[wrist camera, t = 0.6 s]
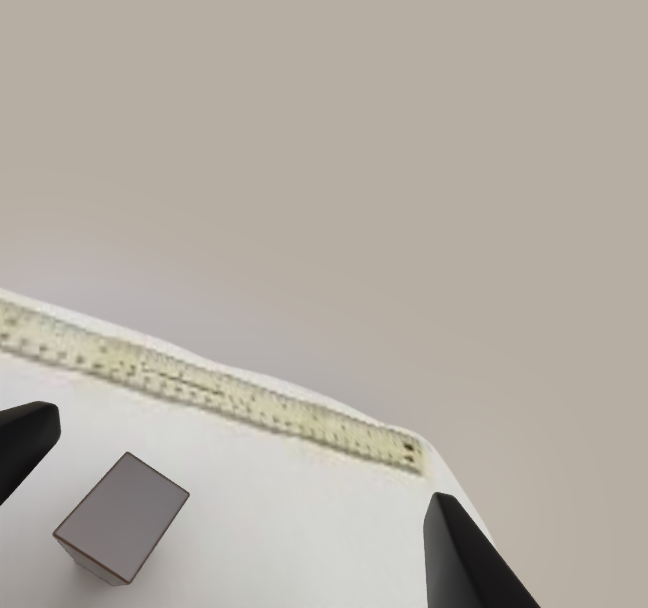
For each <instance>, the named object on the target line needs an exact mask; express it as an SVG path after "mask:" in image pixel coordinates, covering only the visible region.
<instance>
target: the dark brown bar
mask: <svg viewBox="0 0 648 608" xmlns="http://www.w3.org/2000/svg"><path fill="white" fill-rule="evenodd" d="M189 496H190V494H189V492H187V491H186V490H184V489H183V488H181V487H180V486H178V485H177V484H175V483H174V482H172V481H171V480H169V479H168V478H166V477H165V476H163V475H162V474H161V473H159V472H158V471H156V470H155V469H153V468H152V467H150V466H149V465H147V464H146V463H144V462H143V461H141V460H140V459H138V458H137V457H135V456H134V455H132V454H131V453H129V452H126V453H125V454H124V455H123V456H122V457H121V458H120V459H119V460H118V461H117V462H116V463H115V465H114V466H113V467H112V468H111V469H110V470H109V471H108V472H107V473H106V475H105V476H104V477H103V478H102V479H101V480H100V481H99V482H98V483H97V484H96V486H95V487H94V488H93V489H92V490H91V491H90V492H89V493H88V494H87V495H86V497H85V498H84V499H83V500H82V501H81V502H80V503H79V504H78V505H77V507H76V508H75V509H74V510H73V511H72V512H71V513H70V514H69V515H68V516H67V518H66V519H65V520H64V521H63V522H62V523H61V524H60V525H59V526H58V527H57V529H56V530H55V531H54V532H53V536H54V538H55V539H56V540H57V541H58V542H59V543H60V545H61V546H62V547H63V548H64V549H65V550H66V552H67V553H68V554H69V555H70V556H71V557H72V559H73V560H74V561H75V562H77V563H78V564H80V565H81V566H83V567H84V568H86V569H87V570H89V571H90V572H92V573H94V574H95V575H97V576H98V577H100V578H101V579H103V580H104V581H106V582H107V583H109V584H110V585H112V586H120V585H129V584H130V583H131V582H132V581H133V579H134V578H135V576H136V575H137V573H138V572H139V571H140V569H141V568H142V566H143V565H144V563H145V562H146V560H147V559H148V557H149V556H150V554H151V553H152V551H153V550H154V548H155V547H156V545H157V544H158V542H159V541H160V539H161V538H162V536H163V535H164V533H165V532H166V530H167V529H168V527H169V526H170V524H171V523H172V521H173V520H174V518H175V517H176V515H177V514H178V512H179V511H180V509H181V508H182V506H183V505H184V503H185V502H186V501H187V499H188V498H189Z"/></svg>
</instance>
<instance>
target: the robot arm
mask: <svg viewBox="0 0 648 608" xmlns="http://www.w3.org/2000/svg"><path fill="white" fill-rule="evenodd" d="M60 435H61V426H60V417H59V409H58V407H57V406H56V405H55V404H52V403H47V402H43V401H35V402H32V403H28V404H24V405H21V406H17V407H14V408H10V409H7V410H3V411H0V506H1V505H2V504H3V503H4V502H5V500H6V499H7V498H8V497H9V496H10V495H11V494H12V493H13V492H14V490H15V489H16V488H17V487H18V486H19V485H20V484H21V483H22V481H23V480H24V479H25V478H26V477H27V476H28V475H29V474H30V472H31V471H32V470H33V469H34V468H35V467H36V466H37V464H38V463H39V462H40V461H41V460H42V459H43V458H44V457H45V455H46V454H47V453H48V452H49V451H50V450H51V449H52V447H53V446H54V445H55V444H56V443H57V441H58V440H59V438H60ZM423 533H424V550H425V567H426V584H427V601H428V608H541V607H540V606H539V605H538V604H537V602H536V601H535V600H534V598H533V597H532V596H531V595H530V593H529V592H528V591H527V590H526V588H525V587H524V585H523V584H522V583H521V582H520V580H519V579H518V578H517V576H516V575H515V574H514V573H513V571H512V570H511V569H510V567H509V566H508V565H507V564H506V562H505V561H504V560H503V558H502V557H501V556H500V555H499V553H498V552H497V551H496V549H495V548H494V547H493V545H492V544H491V543H490V542H489V540H488V539H487V538H486V536H485V535H484V534H483V533H482V531H481V530H480V529H479V527H478V526H477V525H476V524H475V522H474V521H473V520H472V518H471V517H470V516H469V515H468V513H467V512H466V511H465V509H464V508H463V507H462V505H461V504H460V503H459V502H458V500H457V499H456V498H455V497H454V496H452V495H448V494H444V493H440V492H435V493H434V494H433V495H432V498H431V501H430V504H429V507H428V510H427V513H426V516H425V519H424V525H423Z"/></svg>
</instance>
